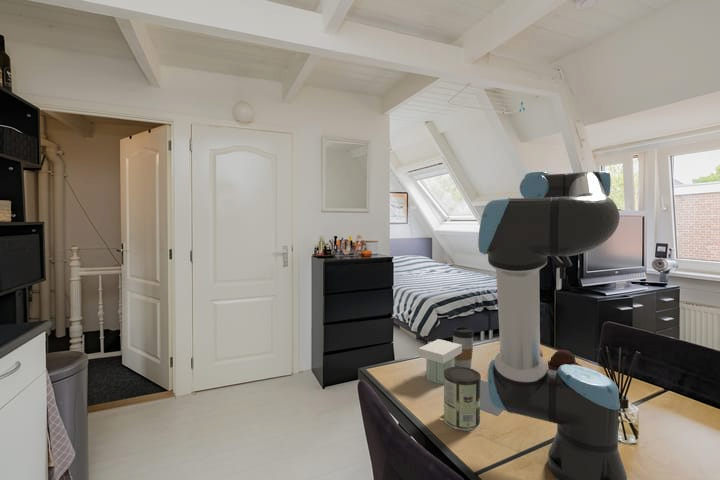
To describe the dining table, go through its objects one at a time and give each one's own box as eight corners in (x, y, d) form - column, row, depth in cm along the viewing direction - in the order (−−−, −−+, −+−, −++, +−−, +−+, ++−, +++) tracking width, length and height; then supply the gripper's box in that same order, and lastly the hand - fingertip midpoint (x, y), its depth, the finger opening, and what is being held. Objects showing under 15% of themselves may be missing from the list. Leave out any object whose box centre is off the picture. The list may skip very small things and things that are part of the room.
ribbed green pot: (445, 387, 124) (445, 361, 123) (421, 378, 130) (421, 354, 130) (459, 378, 131) (459, 354, 131) (435, 370, 138) (435, 347, 137)
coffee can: (461, 408, 109) (461, 363, 109) (488, 424, 101) (488, 376, 100) (435, 417, 104) (436, 370, 104) (461, 435, 95) (462, 384, 95)
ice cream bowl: (590, 402, 113) (591, 356, 112) (552, 399, 115) (553, 353, 114) (577, 387, 123) (578, 345, 122) (542, 384, 125) (543, 343, 125)
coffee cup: (447, 364, 144) (448, 328, 143) (463, 360, 147) (464, 325, 147) (461, 372, 136) (462, 333, 136) (478, 368, 140) (478, 330, 139)
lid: (443, 363, 122) (443, 355, 122) (418, 356, 129) (418, 348, 128) (462, 352, 132) (462, 344, 132) (438, 346, 139) (438, 339, 139)
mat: (497, 417, 104) (497, 415, 104) (448, 399, 115) (448, 398, 115) (520, 393, 119) (520, 392, 119) (475, 379, 130) (475, 378, 130)
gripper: (584, 220, 108) (582, 289, 109) (501, 221, 125) (501, 281, 126) (578, 220, 103) (576, 293, 104) (493, 221, 119) (492, 283, 120)
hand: (535, 286), depth 115 cm, fingers open, 13 cm apart
